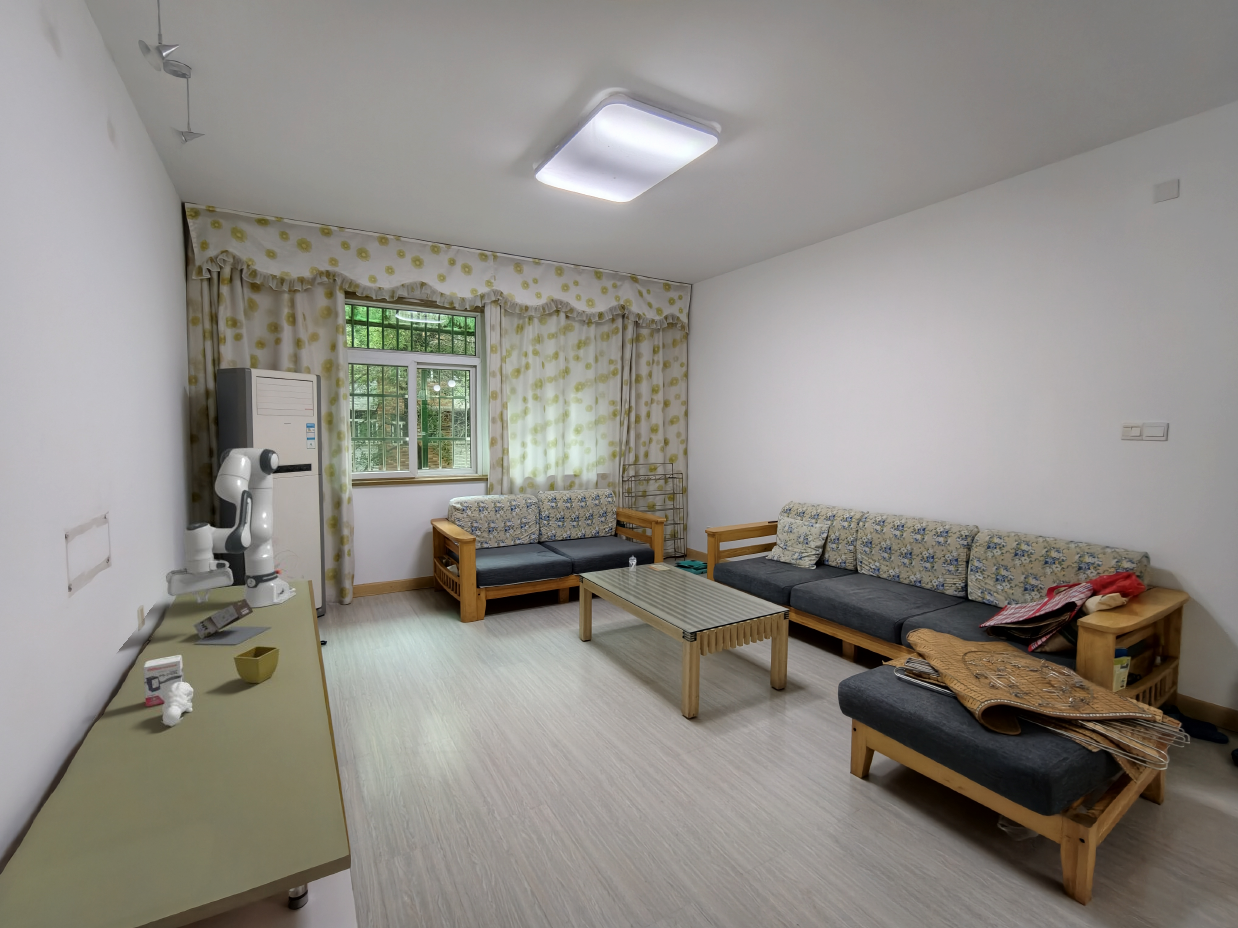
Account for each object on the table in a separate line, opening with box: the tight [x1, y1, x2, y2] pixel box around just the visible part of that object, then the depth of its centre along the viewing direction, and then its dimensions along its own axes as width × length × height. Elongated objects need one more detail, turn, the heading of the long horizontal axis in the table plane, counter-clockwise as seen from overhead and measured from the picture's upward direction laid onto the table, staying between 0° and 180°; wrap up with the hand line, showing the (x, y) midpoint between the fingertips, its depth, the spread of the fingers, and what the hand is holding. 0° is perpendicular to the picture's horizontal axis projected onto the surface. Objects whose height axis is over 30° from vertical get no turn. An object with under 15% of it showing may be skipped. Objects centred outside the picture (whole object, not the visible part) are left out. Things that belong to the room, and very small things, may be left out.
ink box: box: [142, 654, 184, 707], centre depth 164 cm, size 8×5×12 cm, turn 123°
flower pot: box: [233, 645, 280, 684], centre depth 176 cm, size 9×9×9 cm
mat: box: [193, 625, 272, 646], centre depth 216 cm, size 18×17×1 cm
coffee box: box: [193, 598, 254, 640], centre depth 217 cm, size 9×6×16 cm
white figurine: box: [160, 681, 194, 727], centre depth 153 cm, size 6×8×12 cm
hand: (202, 601), depth 216 cm, fingers closed
